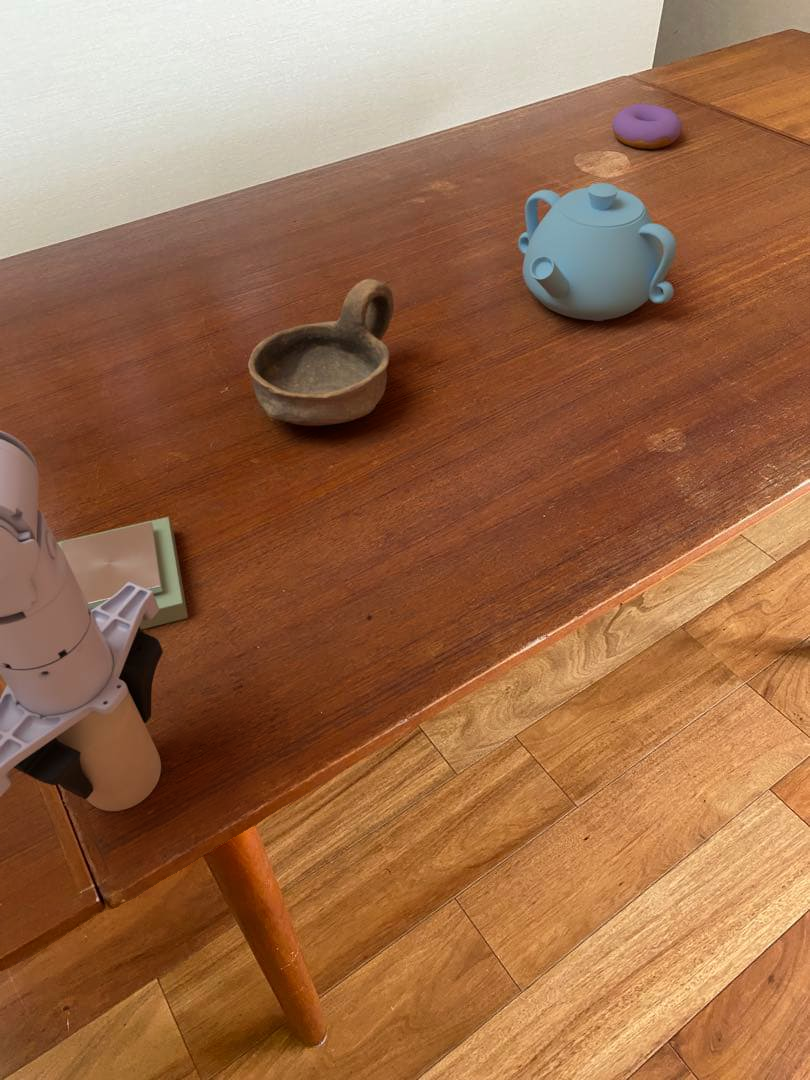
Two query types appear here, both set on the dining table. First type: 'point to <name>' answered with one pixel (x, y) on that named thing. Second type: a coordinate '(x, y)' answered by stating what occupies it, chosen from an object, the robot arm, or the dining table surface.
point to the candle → (115, 756)
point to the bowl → (327, 363)
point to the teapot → (595, 253)
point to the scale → (164, 576)
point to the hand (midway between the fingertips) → (108, 750)
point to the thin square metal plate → (114, 562)
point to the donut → (646, 126)
